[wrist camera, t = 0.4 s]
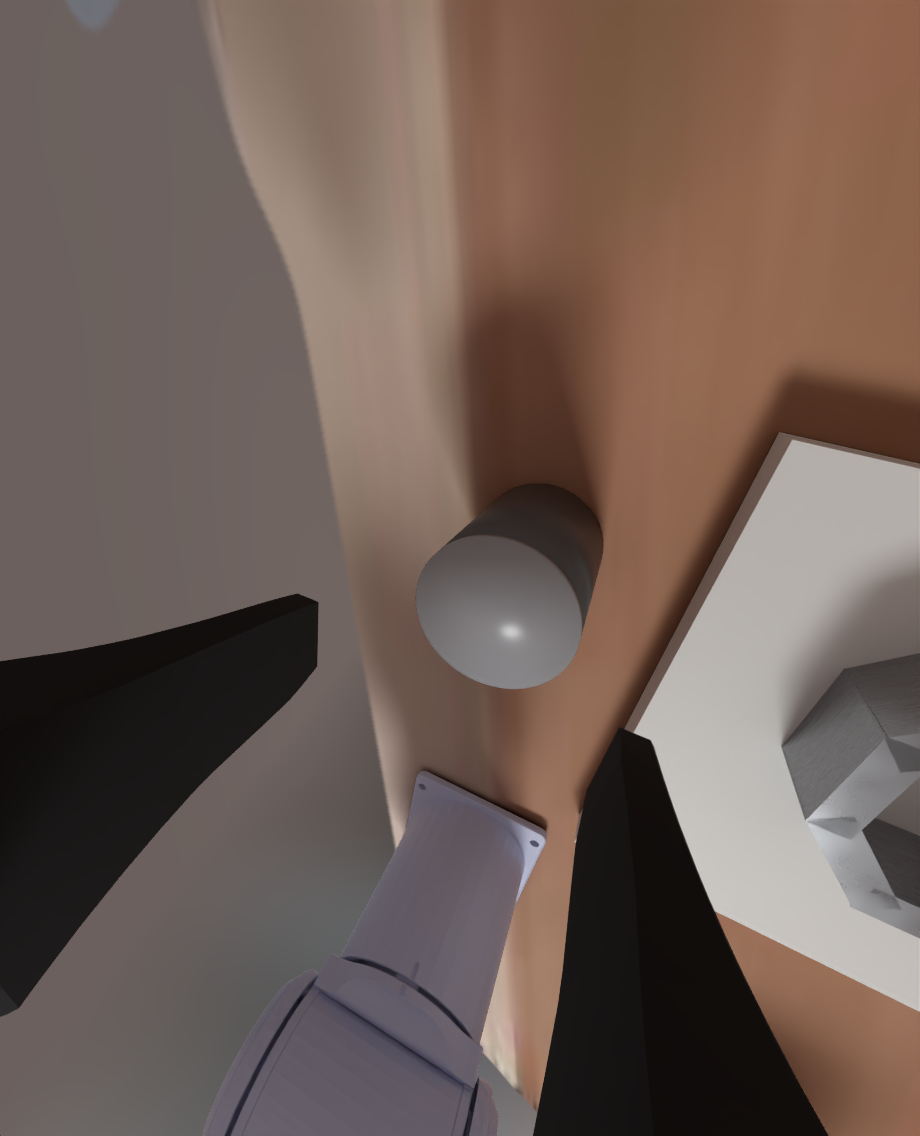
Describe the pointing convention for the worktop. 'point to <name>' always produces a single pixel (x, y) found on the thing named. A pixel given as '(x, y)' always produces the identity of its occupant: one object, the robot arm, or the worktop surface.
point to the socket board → (805, 713)
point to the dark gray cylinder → (513, 588)
